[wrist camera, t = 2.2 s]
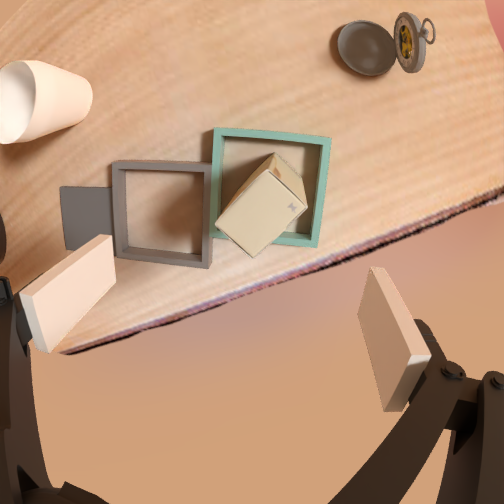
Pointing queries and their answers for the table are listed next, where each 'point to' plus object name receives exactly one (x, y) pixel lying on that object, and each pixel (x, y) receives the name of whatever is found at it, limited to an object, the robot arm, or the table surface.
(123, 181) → the grey frame
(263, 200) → the skincare box
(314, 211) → the teal frame
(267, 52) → the table surface
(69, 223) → the slate mat
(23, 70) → the cup
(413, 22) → the pocket watch
